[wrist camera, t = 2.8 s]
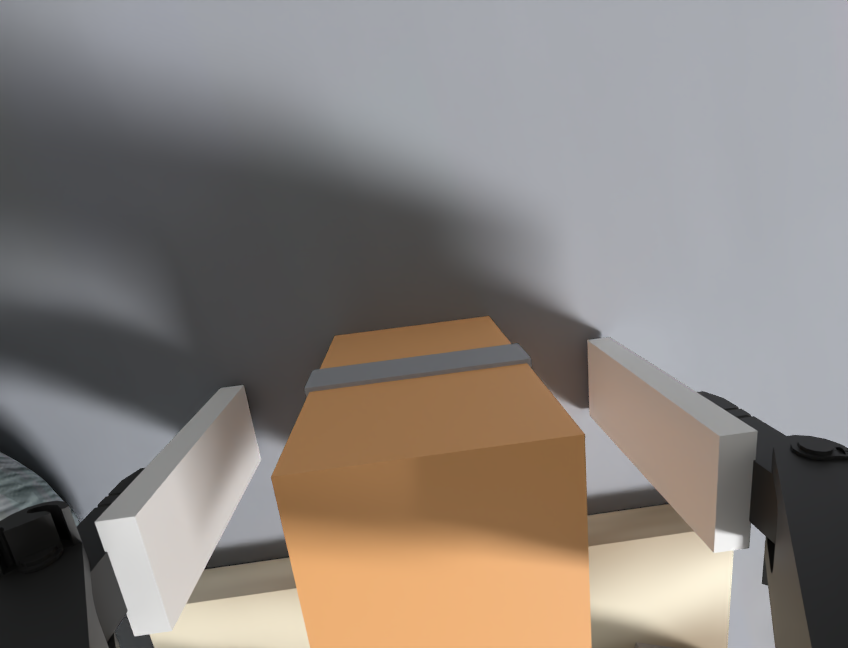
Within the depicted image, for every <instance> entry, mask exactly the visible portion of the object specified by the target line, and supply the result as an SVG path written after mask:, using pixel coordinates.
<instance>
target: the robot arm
mask: <svg viewBox="0 0 848 648" xmlns="http://www.w3.org/2000/svg"><path fill="white" fill-rule="evenodd" d="M587 345H588V379H589V413H590V416H591V417H592V419H593V420H594V421H595V422H596V423H597V424H598V425H599V426H600V427H601V429H602V430H603V431H604V432H605V433H606V434H607V435H608V436H609V437H610V439H611V440H612V441H613V442H614V443H615V444H616V445H617V446H618V447H619V448H620V450H621V451H622V452H623V453H624V454H625V455H626V456H627V457H628V458H629V460H630V461H631V462H632V463H633V464H634V465H635V466H636V467H637V468H638V470H639V471H640V472H641V473H642V474H643V475H644V476H645V477H646V478H647V480H648V481H649V482H650V483H651V484H652V485H653V486H654V487H655V488H656V490H657V491H658V492H659V493H660V494H661V495H662V496H663V497H664V498H665V499H666V501H667V502H668V503H669V504H670V505H671V506H672V507H673V508H674V509H675V511H676V512H677V513H678V514H679V515H680V516H681V517H682V518H683V519H684V521H685V522H686V523H687V524H688V525H689V526H690V527H691V528H692V529H693V531H694V532H695V533H696V534H697V535H698V536H699V537H700V538H701V539H702V541H703V542H704V543H705V544H706V545H707V546H708V547H709V548H710V549H711V550H712V552H713V553H718V552H725V551H732V550H739V549H746V548H749V543H750V529H751V523H752V524H753V525H754V526H755V527H756V528H757V529H759V530H760V531H761V532H762V533H763V534H764V535H765V536H766V540H765V553H764V565H763V577H762V584H765V585H768V588H769V597H770V605H771V614H772V623H773V631H774V640H775V648H848V448H846V447H845V446H843V445H841V444H838V443H836V442H833V441H830V440H827V439H822V438H817V437H812V436H801V435H792V436H785V435H784V434H782V433H780V432H779V431H777V430H775V429H774V428H772V427H770V426H769V425H767V424H766V423H764V422H762V421H761V420H759V419H757V418H756V417H754V416H753V417H751V415H750V414H749V413H747V412H746V411H744V410H742V409H739V408H738V407H737V406H736V405H734V404H732V403H731V402H729V401H727V400H726V399H724V398H722V397H719V396H716V395H713V394H709V393H706V392H703V391H702V392H696V391H694V390H692V389H691V388H689V387H688V386H686V385H685V384H683V383H681V382H680V381H678V380H677V379H675V378H674V377H672V376H670V375H669V374H667V373H666V372H664V371H663V370H661V369H659V368H658V367H656V366H655V365H653V364H652V363H650V362H648V361H647V360H645V359H644V358H642V357H641V356H639V355H637V354H636V353H634V352H633V351H631V350H630V349H628V348H626V347H625V346H623V345H622V344H620V343H619V342H617V341H615V340H614V339H612V338H611V337H606V338H599V339H591V340H587ZM260 461H261V457H260V452H259V448H258V444H257V440H256V435H255V431H254V427H253V422H252V418H251V414H250V410H249V405H248V401H247V397H246V392H245V388H244V385H240V386H232V387H225V388H220V389H219V390H218V391H217V392H216V393H215V394H214V395H213V396H212V397H211V398H210V400H209V401H208V402H207V403H206V404H205V405H204V406H203V407H202V408H201V409H200V410H199V411H198V412H197V413H196V414H195V416H194V417H193V418H192V419H191V420H190V421H189V422H188V423H187V424H186V425H185V426H184V427H183V428H182V429H181V430H180V431H179V433H178V434H177V435H176V436H175V437H174V438H173V439H172V440H171V441H170V442H169V443H168V444H167V445H166V446H165V447H164V449H163V450H162V451H161V452H160V453H159V454H158V455H157V456H156V457H155V458H154V459H153V460H152V461H151V462H150V463H149V465H148V466H147V467H146V468H141V469H139V470H137V471H136V472H134V473H133V474H131V475H130V476H128V477H127V478H125V479H124V480H122V481H121V482H120V483H119V484H118V485H117V486H116V487H115V488H114V489H113V490H112V491H111V492H110V493H109V496H108V497H105V498H104V499H103V500H102V501H101V502H100V503H99V504H98V508H94V509H93V510H92V511H91V512H90V514H89V515H88V516H87V517H86V518H85V519H84V520H83V521H82V522H81V523H80V524H79V525H78V526H77V527H76V524H75V521H74V518H73V516H72V513H71V510H70V507H69V505H68V504H67V503H66V502H63V501H50V502H43V503H40V504H37V505H34V506H30V507H27V508H25V509H23V510H20V511H18V512H16V513H13V514H11V515H9V516H8V517H6V518H4V519H3V520H1V521H0V648H120V646H119V643H118V640H117V637H116V635H115V632H114V631H115V630H116V628H117V627H118V625H119V624H120V622H121V621H122V619H123V618H124V616H125V615H126V614H127V617H128V619H129V622H130V625H131V628H132V631H133V634H134V636H141V635H148V634H155V633H162V632H169V631H172V630H173V628H174V626H175V624H176V622H177V620H178V619H179V617H180V615H181V613H182V611H183V609H184V607H185V605H186V603H187V601H188V599H189V597H190V595H191V594H192V592H193V590H194V588H195V586H196V584H197V582H198V580H199V578H200V576H201V574H202V572H203V570H204V569H205V567H206V565H207V563H208V561H209V559H210V557H211V555H212V553H213V551H214V549H215V547H216V546H217V544H218V542H219V540H220V538H221V536H222V534H223V532H224V530H225V528H226V526H227V524H228V522H229V521H230V519H231V517H232V515H233V513H234V511H235V509H236V507H237V505H238V503H239V501H240V499H241V498H242V496H243V494H244V492H245V490H246V488H247V486H248V484H249V482H250V480H251V478H252V476H253V474H254V473H255V471H256V469H257V467H258V465H259V463H260Z"/></svg>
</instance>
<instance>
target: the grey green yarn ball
mask: <svg viewBox="0 0 848 648" xmlns="http://www.w3.org/2000/svg"><path fill="white" fill-rule="evenodd" d="M50 501H63V500H62V499H61V498H60V497H59V496H58V495H57V494H56V492H55V491H54V490H53V489H52V488H51V487H50V486H49V485H48V483H47V482H46V481H45V480H43V479H42V478H41V477H40V476H38V475H37V474H36V473H35V472H33V471H32V470H30V469H28V468H27V467H25V466H24V465H22V464H21V463H19V462H18V461H16V460H14V459H12V458H10V457H9V456H7V455H5V454H3V453H1V452H0V521H1V520H3V519H4V518H6V517H8V516H9V515H11V514H13V513H16V512H18V511H20V510H23V509H25V508H27V507H30V506H34V505H37V504H40V503H43V502H50ZM63 502H64V501H63ZM70 510H71V513H72V516H73V518H74V521H75V524H76V527H77V526H78V525H79V524H80V522H79V521H78V519H77V517H76V516H75V514H74V513H73V511H72V509H71V508H70Z"/></svg>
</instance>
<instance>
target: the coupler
mask: <svg viewBox="0 0 848 648" xmlns="http://www.w3.org/2000/svg"><path fill="white" fill-rule="evenodd" d="M304 390H305V395H306V401H305V403H304V405H303V407H302V409H301V412H300V414H299V416H298V418H297V421H296V423H295V425H294V427H293V429H292V432H291V434H290V436H289V438H288V441H287V443H286V445H285V447H284V449H283V452H282V454H281V456H280V458H279V460H278V463H277V465H276V467H275V469H274V472H273V474H272V476H271V479H272V483H273V488H274V492H275V497H276V501H277V505H278V510H279V514H280V518H281V523H282V527H283V531H284V536H285V540H286V544H287V549H288V553H289V558H290V562H291V566H292V571H293V575H294V579H295V584H296V588H297V592H298V597H299V601H300V606H301V610H302V614H303V619H304V623H305V627H306V632H307V636H308V640H309V645H310V648H592V644H591V613H590V582H589V551H588V519H587V488H586V457H585V434H584V433H583V431H582V430H581V429H580V428H579V426H578V425H577V424H576V423H575V422H574V420H573V419H572V418H571V417H570V415H569V414H568V413H567V412H566V410H565V409H564V408H563V407H562V406H561V404H560V403H559V402H558V401H557V399H556V398H555V397H554V396H553V394H552V393H551V392H550V391H549V389H548V388H547V387H546V386H545V385H544V383H543V382H542V381H541V380H540V378H539V377H538V376H537V375H536V373H535V372H534V371H533V370H532V363H531V358H530V357H529V355H528V354H527V353H526V352H525V351H524V350H523V348H522V347H521V346H520V345H519V344H518V343H515V344H511V343H510V341H509V340H508V339H507V338H506V336H505V335H504V334H503V333H502V332H501V330H500V329H499V328H498V327H497V325H496V324H495V323H494V322H493V320H492V319H491V318H490V317H489V316H484V317H476V318H469V319H461V320H453V321H445V322H438V323H430V324H422V325H414V326H407V327H399V328H391V329H383V330H376V331H368V332H360V333H352V334H345V335H337V336H334V338H333V341H332V343H331V345H330V347H329V349H328V352H327V354H326V356H325V358H324V361H323V363H322V365H321V367H320V369H317V370H313V371H312V373H311V375H310V377H309V380H308V382H307V384H306V386H305V388H304Z"/></svg>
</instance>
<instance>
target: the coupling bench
mask: <svg viewBox="0 0 848 648" xmlns="http://www.w3.org/2000/svg"><path fill="white" fill-rule="evenodd" d="M587 519H588V551H589V582H590V613H591V644H592V648H727V645H728V629H729V613H730V597H731V582H732V566H733V550H732V551H725V552H718V553H713V552H712V550H711V549H710V548H709V547H708V546H707V545H706V544H705V543H704V542H703V541H702V539H701V538H700V537H699V536H698V535H697V534H696V533H695V532H694V531H693V529H692V528H691V527H690V526H689V525H688V524H687V523H686V522H685V521H684V519H683V518H682V517H681V516H680V515H679V514H678V513H677V512H676V511H675V509H674V508H673V507H672V506H671V505H670V504H665V505H658V506H651V507H644V508H637V509H629V510H622V511H615V512H608V513H601V514H594V515H587ZM150 637H151V640H152V643H153V646H154V648H310V645H309V640H308V636H307V632H306V627H305V623H304V619H303V614H302V610H301V606H300V601H299V597H298V592H297V588H296V584H295V579H294V575H293V571H292V566H291V562H290V558H282V559H275V560H268V561H261V562H254V563H247V564H240V565H233V566H226V567H219V568H212V569H205V570H203V572H202V574H201V576H200V578H199V580H198V582H197V584H196V586H195V588H194V590H193V592H192V594H191V595H190V597H189V599H188V601H187V603H186V605H185V607H184V609H183V611H182V613H181V615H180V617H179V619H178V620H177V622H176V624H175V626H174V628H173V630H172V631H169V632H162V633H155V634H150Z"/></svg>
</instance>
